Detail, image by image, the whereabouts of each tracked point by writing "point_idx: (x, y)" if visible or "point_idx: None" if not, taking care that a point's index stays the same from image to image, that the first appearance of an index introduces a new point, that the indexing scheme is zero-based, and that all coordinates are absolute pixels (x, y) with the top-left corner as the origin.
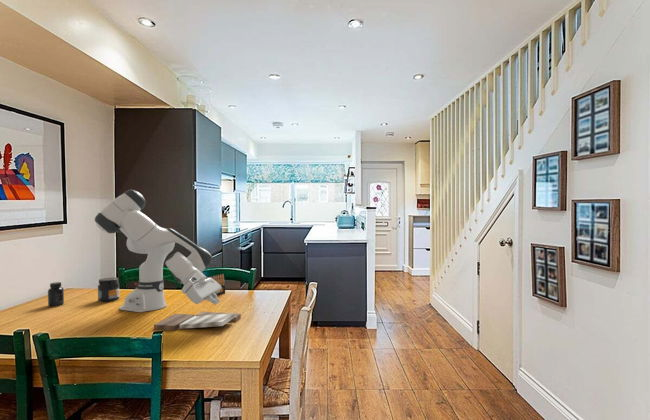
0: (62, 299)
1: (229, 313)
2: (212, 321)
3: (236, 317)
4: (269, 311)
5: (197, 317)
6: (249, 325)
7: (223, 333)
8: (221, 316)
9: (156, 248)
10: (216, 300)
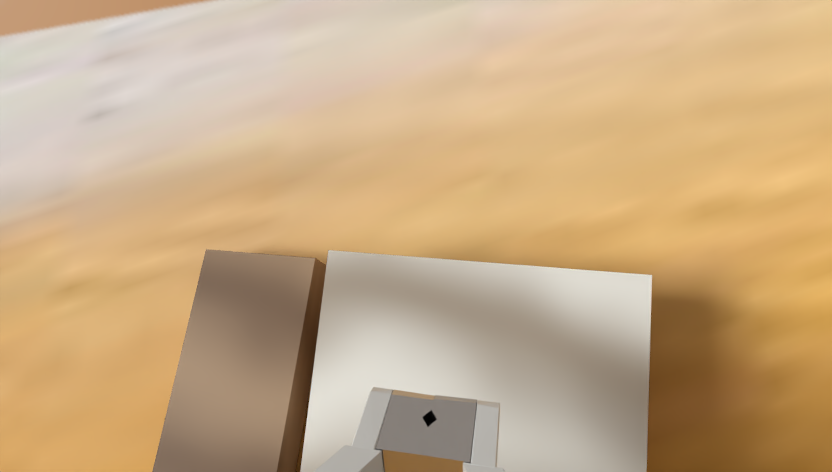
0: None
1: (189, 367)
2: (607, 422)
3: (304, 258)
4: (85, 85)
5: None
6: (428, 120)
7: (667, 269)
8: (412, 373)
9: None
10: (466, 427)
